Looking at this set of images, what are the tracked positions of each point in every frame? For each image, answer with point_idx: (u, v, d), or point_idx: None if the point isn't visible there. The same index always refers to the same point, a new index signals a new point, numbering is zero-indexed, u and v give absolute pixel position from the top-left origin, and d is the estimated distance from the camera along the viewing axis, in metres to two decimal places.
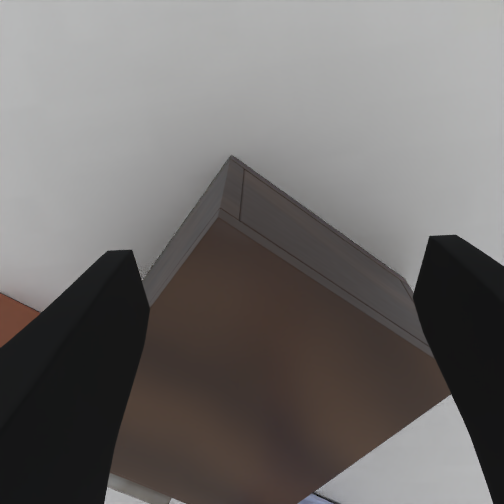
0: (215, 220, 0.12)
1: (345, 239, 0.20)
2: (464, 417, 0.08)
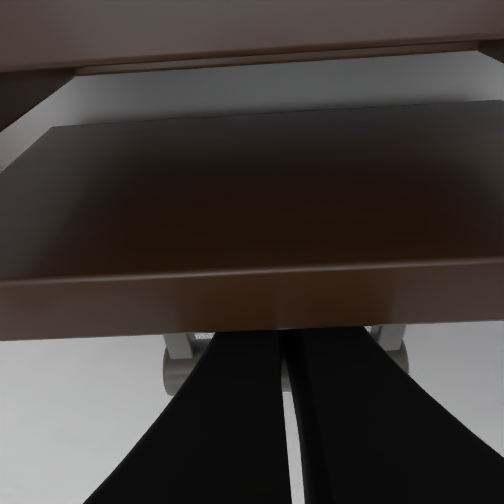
0: None
1: None
2: (297, 422, 0.08)
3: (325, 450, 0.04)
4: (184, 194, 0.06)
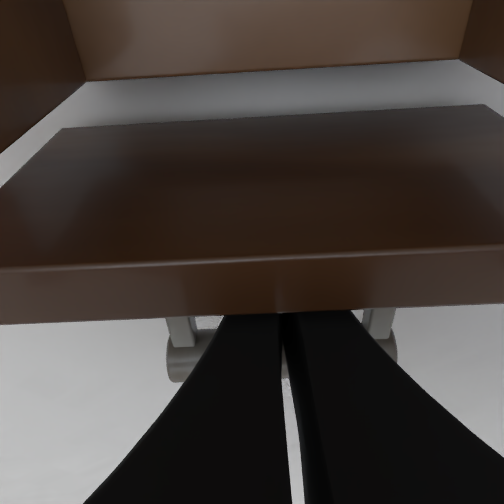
0: None
1: None
2: (297, 423, 0.08)
3: (325, 450, 0.04)
4: (189, 191, 0.07)
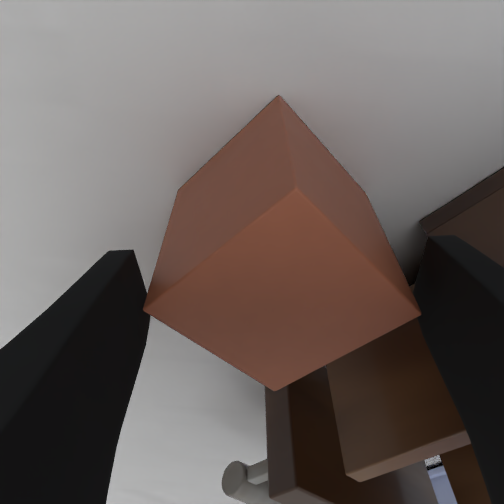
0: None
1: None
2: (462, 417, 0.08)
3: None
4: None
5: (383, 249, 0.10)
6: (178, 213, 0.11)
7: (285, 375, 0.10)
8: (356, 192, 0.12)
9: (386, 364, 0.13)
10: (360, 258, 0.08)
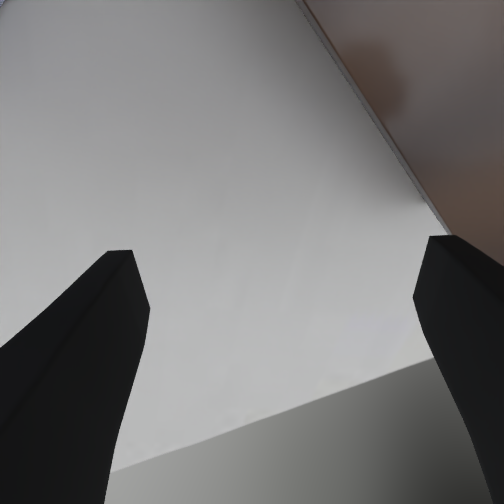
0: None
1: None
2: (464, 417, 0.08)
3: None
4: None
5: None
6: None
7: None
8: None
9: None
10: None
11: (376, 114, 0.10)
